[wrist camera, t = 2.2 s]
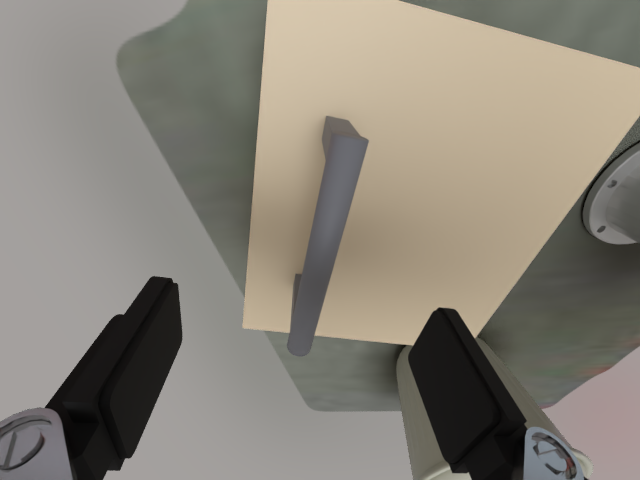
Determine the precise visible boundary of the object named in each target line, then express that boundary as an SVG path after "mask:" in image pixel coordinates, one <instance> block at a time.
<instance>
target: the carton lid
mask: <svg viewBox="0 0 640 480" xmlns="http://www.w3.org/2000/svg"><path fill="white" fill-rule="evenodd" d="M639 116H640V68H639V67H635V66H632V65H628V64H624V63H621V62H617V61H614V60H610V59H606V58H603V57H599V56H596V55H592V54H589V53H585V52H581V51H578V50H574V49H571V48H567V47H563V46H560V45H556V44H553V43H549V42H546V41H542V40H538V39H535V38H531V37H528V36H524V35H520V34H517V33H513V32H510V31H506V30H503V29H499V28H495V27H492V26H488V25H485V24H481V23H477V22H474V21H470V20H467V19H463V18H460V17H456V16H452V15H449V14H445V13H442V12H438V11H434V10H431V9H427V8H424V7H420V6H416V5H413V4H409V3H406V2H402V1H399V0H268V5H267V18H266V31H265V44H264V57H263V70H262V82H261V95H260V108H259V121H258V134H257V147H256V160H255V173H254V186H253V199H252V212H251V225H250V238H249V250H248V263H247V276H246V289H245V302H244V315H243V328H248V329H257V330H267V331H276V332H286V333H289V338H288V343H287V348H288V350H289V352H290V353H291V354H293V355H295V356H305V355H307V354H308V353H309V351H310V349H311V346H312V342H313V338H314V335H315V336H325V337H335V338H345V339H354V340H364V341H374V342H384V343H393V344H403V345H414V343H415V342H416V340H417V338H418V336H419V335H420V333H421V331H422V329H423V328H424V326H425V324H426V322H427V321H428V319H429V317H430V315H431V314H432V312H433V311H436V310H437V308H439V307H442V308H451V309H455V310H456V311H457V312H458V313H459V315H460V316H461V318H462V319H463V321H464V323H465V324H466V326H467V327H468V329H469V330H470V332H471V334H472V335H473V337H474V338H476V336H477V335H478V334H479V332H480V331H481V330H482V328H483V327H484V326H485V324H486V323H487V321H488V320H489V319H490V317H491V316H492V315H493V313H494V312H495V311H496V309H497V308H498V307H499V305H500V304H501V303H502V301H503V300H504V298H505V297H506V296H507V294H508V293H509V292H510V290H511V289H512V288H513V286H514V285H515V284H516V282H517V281H518V280H519V278H520V277H521V275H522V274H523V273H524V271H525V270H526V269H527V267H528V266H529V265H530V263H531V262H532V261H533V259H534V258H535V257H536V255H537V254H538V253H539V251H540V250H541V248H542V247H543V246H544V244H545V243H546V242H547V240H548V239H549V238H550V236H551V235H552V234H553V232H554V231H555V230H556V228H557V227H558V225H559V224H560V223H561V221H562V220H563V219H564V217H565V216H566V215H567V213H568V212H569V211H570V209H571V208H572V207H573V205H574V204H575V202H576V201H577V200H578V198H579V197H580V196H581V194H582V193H583V192H584V190H585V189H586V188H587V186H588V185H589V184H590V182H591V181H592V179H593V178H594V177H595V175H596V174H597V173H598V171H599V170H600V169H601V167H602V166H603V165H604V163H605V162H606V161H607V159H608V158H609V156H610V155H611V154H612V152H613V151H614V150H615V148H616V147H617V146H618V144H619V143H620V142H621V140H622V139H623V138H624V136H625V135H626V133H627V132H628V131H629V129H630V128H631V127H632V125H633V124H634V123H635V121H636V120H637V119H638V117H639Z"/></svg>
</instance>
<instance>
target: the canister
mask: <svg viewBox="0 0 640 480" xmlns="http://www.w3.org/2000/svg"><path fill="white" fill-rule="evenodd" d="M475 340H476V341H477V343H478V345H479V346H480V348H481V349H482V351H483V352H484V354H485V356H486V357H487V359H488V360H489V362H490V363H491V365H492V367H493V368H494V370H495V371H496V373H497V374H498V376H499V378H500V379H501V381H502V382H503V384H504V385H505V387H506V389H507V390H508V392H509V393H510V395H511V396H512V398H513V400H514V401H515V403H516V404H517V406H518V407H519V409H520V411H521V412H522V414H523V415H524V417H525V418H526V420H527V422H526V423H524V424H525V426H526V427H527V429H529V428H530V427H539V428H543V429H545V430H547V431H549V432H551V433H553V434H554V435H555V436H557V437H558V438H559V439H560V440H562V441H563V442H564V443H565V444H566V445H567V446H568V447H569V449H570V450H571V451H572V452H573V454H574V455H575V456H576V458H577V460H578V462H579V464H580V465H581V468H582V471H583V475H584V477H585V478H587V479H589V477H590V476H591V474H592V472H593V464H592V462H591V460H590V459H589V458H588V457H587V456H586V455H585V454H583V453H582V452H581V451H579V450H576V449H574V448H572V447H571V445H570V444H569V443H568V442H567V440H566V439H565V438H564V437H563V435H562V434H561V433H560V432H559V430H558V429H557V428H556V427H555V426H554V424H553V423H552V422H551V421H550V419H549V418H548V417H547V416H546V414H545V413H544V412H543V411H542V410H541V408H540V407H539V406H538V405H537V403H536V402H535V401H534V400H533V398H532V397H531V396H530V395H529V394H528V392H527V391H526V390H525V389H524V387H523V386H522V385H521V384H520V383H519V381H518V380H517V379H516V378H515V376H514V375H513V374H512V373H511V372H510V370H509V369H508V368H507V367H506V366H505V365H504V363H503V362H502V361H501V360H500V359H499V357H498V356H497V355H496V354H495V353H494V352H493V350H492V349H491V348H490V347H489V346H488V345H487V344H486V343H485V342H484V341H483V340H481V339H480V338H479V337H477V336H476V338H475ZM412 347H413V345H406V347H404V348H403V349H402V352H401V353H400V355H399V358H398V360H397V367H396V375H397V383H398V390H399V397H400V404H401V410H402V416H403V422H404V428H405V434H406V440H407V446H408V452H409V458H410V464H411V469H412V475H413V480H472V479H471V477H470V475H469V472H468V473H452V471H451V469H450V466H449V463H447V462H446V461H445V460H444V458H443V456H442V454H441V451H440V448H439V445H438V443H437V440H436V437H435V434H434V432H433V429H432V426H431V423H430V420H429V418H428V415H427V412H426V409H425V407H424V404H423V401H422V398H421V396H420V393H419V390H418V387H417V385H416V382H415V379H414V376H413V374H412V371H411V368H410V365H409V362H408V354H409V352H410V350H411V349H412Z"/></svg>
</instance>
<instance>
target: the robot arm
mask: <svg viewBox="0 0 640 480" xmlns="http://www.w3.org/2000/svg"><path fill="white" fill-rule="evenodd" d="M583 222H584V225H585V227H586V229H587V230H588V232H589V233H590V234H591V235H593V236H595V237H596V238H598V239H599V240H601V241H604V242H606V243H610V244H631V243H637V242H638V243H640V143H638V144H637V145H635V146H634V147H632V148H631V149H629V150H627V151H626V152H625V153H624V154H622V155H621V156H620V157H619V158H617V159H616V160H615V161H614V162H613V163H612V164H611V165H610V166H609V167H608V168H607V169H606V170H605V171H604V172H603V173H602V175H601V176H600V177H599V178H598V180H597V181H596V182H595V184H594V185H593V187H592V189H591V190H590V192H589V194H588V196H587V199H586V201H585V204H584V209H583ZM181 342H182V325H181V314H180V302H179V291H178V284H177V283H173V280H172V279H171V278H164V277H155V276H153V277H151V278H150V279H149V281H148V282H147V283H146V285H145V286H144V288H143V289H142V290H141V292H140V293H139V294H138V296H137V297H136V299H135V300H134V301H133V303H132V304H131V306H130V307H129V308H128V310H127V311H126V313H125V314H124V315H122V314H119V315H116V316H114V317H113V318H112V319H111V320H110V321H109V323H108V324H107V325H106V327H105V328H104V330H103V331H102V332H101V333H100V335H99V336H98V337H97V339H96V340H95V341H94V343H93V344H92V346H91V347H90V348H89V349H88V351H87V352H86V353H85V355H84V356H83V357H82V359H81V360H80V361H79V363H78V364H77V365H76V367H75V368H74V369H73V371H72V372H71V373H70V375H69V376H68V377H67V379H66V380H65V381H64V383H63V384H62V386H61V387H60V388H59V389H58V391H57V392H56V393H55V395H54V396H53V397H52V399H51V400H50V401H49V403H48V404H47V405H46V407H45V408H34V409H27V410H25V411H22V412H19V413H16V414H13V415H12V416H10V417H8V418H6V419H4V420H2V421H1V422H0V480H103V478H104V476H105V474H106V472H107V470H116V471H118V470H120V469H121V467H122V464H123V462H124V460H125V458H131V457H132V455H133V454H134V452H135V450H136V448H137V445H138V443H139V441H140V438H141V436H142V434H143V431H144V429H145V427H146V424H147V422H148V420H149V418H150V415H151V413H152V410H153V408H154V406H155V403H156V401H157V399H158V397H159V394H160V392H161V390H162V387H163V385H164V383H165V380H166V378H167V376H168V373H169V371H170V369H171V366H172V364H173V362H174V359H175V357H176V355H177V352H178V350H179V348H180V345H181ZM408 362H409V365H410V368H411V371H412V374H413V376H414V379H415V382H416V385H417V387H418V390H419V393H420V396H421V398H422V401H423V404H424V407H425V409H426V412H427V415H428V418H429V420H430V423H431V426H432V429H433V432H434V434H435V437H436V440H437V443H438V445H439V448H440V451H441V454H442V456H443V458H444V460H445V461H446V462H447V463H449V466H450V469H451V471H452V473H468V472H469V475H470V477H471V479H472V480H588V479H587V478H585V477H584V475H583V471H582V468H581V465H580V464H579V462H578V460H577V458H576V456H575V455H574V454H573V452H572V451H571V450H570V449H569V447H568V446H567V445H566V444H565V443H564V442H563V441H562V440H560V439H559V438H558V437H557V436H555V435H554V434H553V433H551V432H549V431H547V430H545V429H543V428H539V427H530V428H529V429H527V427H526V426H525V424H524V423H526V422H527V420H526V418H525V417H524V415H523V414H522V412H521V411H520V409H519V407H518V406H517V404H516V403H515V401H514V400H513V398H512V396H511V395H510V393H509V392H508V390H507V389H506V387H505V385H504V384H503V382H502V381H501V379H500V378H499V376H498V374H497V373H496V371H495V370H494V368H493V367H492V365H491V363H490V362H489V360H488V359H487V357H486V356H485V354H484V352H483V351H482V349H481V348H480V346H479V345H478V343H477V341H476V340H475V338H474V337H473V335H472V334H471V332H470V330H469V329H468V327H467V326H466V324H465V323H464V321H463V319H462V318H461V316H460V315H459V313H458V312H457V311H456V310H455V309H451V308H442V307H439V308H437V310H436V311H433V312H432V314H431V315H430V317H429V319H428V321H427V322H426V324H425V326H424V328H423V329H422V331H421V333H420V335H419V336H418V338H417V340H416V342H415V343H414V345H413V347H412V349H411V350H410V352H409V354H408Z"/></svg>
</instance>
